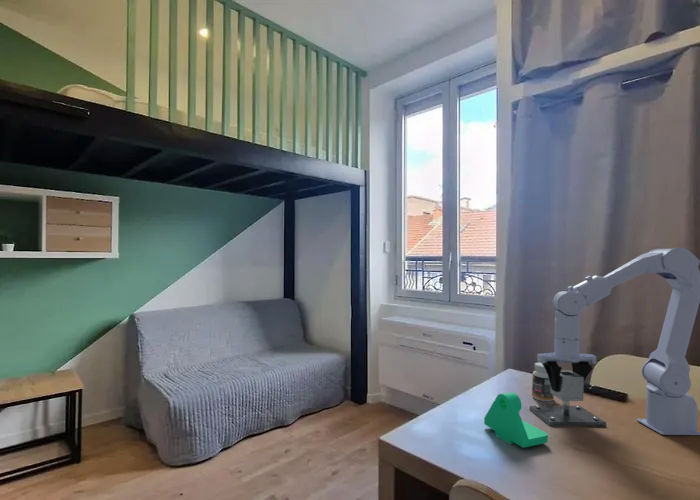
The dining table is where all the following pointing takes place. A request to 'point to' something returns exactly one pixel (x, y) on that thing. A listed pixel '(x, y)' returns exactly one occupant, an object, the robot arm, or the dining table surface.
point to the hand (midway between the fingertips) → (566, 390)
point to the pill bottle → (541, 384)
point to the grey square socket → (569, 386)
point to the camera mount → (512, 422)
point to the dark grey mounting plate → (566, 415)
